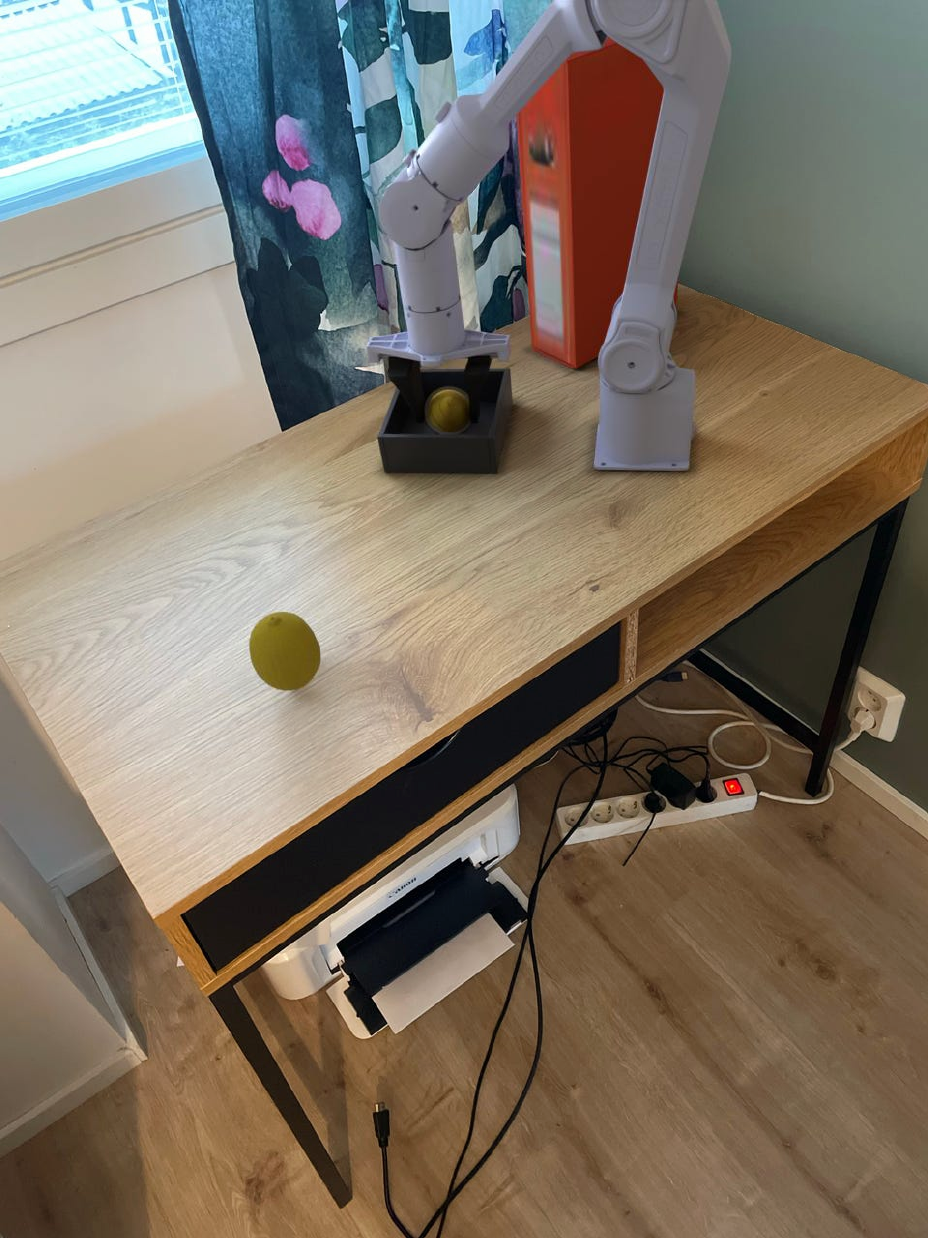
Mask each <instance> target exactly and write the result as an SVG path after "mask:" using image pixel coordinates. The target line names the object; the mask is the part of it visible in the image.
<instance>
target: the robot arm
mask: <svg viewBox="0 0 928 1238" xmlns="http://www.w3.org/2000/svg"><path fill="white" fill-rule="evenodd" d="M608 36H609V37H610V38H611V39H613V40H614V41H615V42H616V43H618V44H620V45H621V46H623V47H624V48H626V49H628V50H629V51H631V52H632V53H634V54H636V55H637V56H639V57H640V58H642V59H643V60H644V61H645V63H646V64H647V65H648V67H649V68H650V69H651V71H652V72H653V73H654V75H655V76H656V77H657V79H658V80H659V81H660V83H661V84H662V85H663V87H664V95H663V100H662V105H661V110H660V114H659V119H658V124H657V129H656V134H655V139H654V144H653V149H652V154H651V159H650V164H649V169H648V174H647V179H646V184H645V188H644V193H643V198H642V203H641V208H640V213H639V218H638V223H637V228H636V233H635V238H634V243H633V248H632V253H631V258H630V263H629V267H628V272H627V277H626V282H625V287H624V291H623V294H622V295H621V296H620V297H619V299H618V300H617V301H616V303H615V305H614V307H613V311H612V315H611V323H610V326H609V329H608V333H607V336H606V339H605V342H604V344H603V346H602V347H601V350H600V353H599V356H598V357H597V366H598V371H599V423H598V424H597V431H596V439H595V450H594V459H593V469H594V470H596V471H653V472H654V471H662V472H663V471H664V472H666V471H669V472H687V471H688V470H690V458H691V447H692V440H694V439H695V421H694V413H695V400H696V370H695V369H691V368H685V367H680V366H677V365H676V362H675V361H674V360H673V356H672V355H671V353H670V347H671V344H672V338H673V333H674V331H675V329H676V325H677V322H678V321H677V319H678V313H677V311H678V310H677V307H676V308H675V304H674V299H673V295H674V291H675V287H676V283H677V279H678V280H679V276H680V275H679V274H680V271H681V267H682V262H683V258H684V256H685V255H684V254H685V249H686V246H687V242H688V239H689V234H690V230H691V227H692V222H693V218H694V215H695V209H696V206H697V201H698V198H699V194H700V189H701V186H702V181H703V178H704V174H705V170H706V165H707V160H708V158H709V153H710V149H711V145H712V142H713V137H714V133H715V129H716V126H717V125H716V124H717V121H718V117H719V113H720V109H721V105H722V100H723V97H724V93H725V89H726V84H727V81H728V76H729V73H730V69H731V68H730V67H731V62H732V47H731V42H730V39H729V36H728V32H727V29H726V25H725V22H724V19H723V16H722V12H721V10H720V7H719V3H718V0H552V1H551V2H550V3H549V4H548V6H547V7H546V9H545V10H544V11H543V13H542V14H541V15H540V17H539V18H538V20H536V22H535V24H534V25H533V26H532V28H531V29H530V30H529V31H528V33H527V34H526V36H524V38H523V40H521V42H520V43H519V45H518V46H517V48H516V49H515V50H514V51H513V52H514V53H513V52H512V54H511V55H510V57H509V58H508V60H507V61H506V62H505V63H504V65H503V66H502V68H501V69H500V71H499V72H498V73H497V74H496V76H495V77H494V78H493V79H492V81H491V83H489V84H488V86H487V88H486V89H485V90H484V91H483V92H482V93H478V94H475V93H474V94H463V95H462V94H461V95H459V96H458V97H457V98H456V99H455V101H453V103H452V104H451V103H450V102H449V100H446V101H444V103H443V104H442V105H441V106H440V108H439V109H438V110H437V112H435V115H433V117H434V118H433V119H434V120H435V121H436V122H437V124H436V125H435V126H434V128H433V129H432V131H430V133H429V134H428V135H427V137H426V138H425V139H424V141H423V142H422V143H421V145H420V146H419V147H418V148H417V150H415V149H414V148H411V149H410V150H409V151H408V153H407V154H406V155H405V157H404V158H403V160H402V162H403V164H404V165H405V167H403V168H402V169H401V171H400V172H399V173H398V175H397V176H396V177H395V178H394V180H393V181H392V182H391V183H389V184H387V186H386V187H385V189H384V193H383V195H382V197H381V199H380V202H379V205H378V218H379V219H378V220H379V222H380V223H379V224H380V225H381V228H382V230H383V231H384V233H385V234H386V236H387V237H388V238H389V239H390V240H391V241H392V244H393V250H394V255H395V258H394V259H395V263H396V264H395V265H396V270H397V276H398V277H397V278H398V283H399V288H400V294H401V295H400V296H401V301H402V306H403V312H404V319H405V324H406V325H405V326H406V331H403V332H398V333H393V334H387V335H379V336H378V335H377V336H370V337H369V340H368V341H367V344H366V351H367V356H368V361H369V364H377V363H380V362H381V361H382V360H387V361H388V365H387V366H388V368H387V371H386V375H387V377H388V380H389V381H390V382H391V383H392V384H393V385H394V386H395V388H396V387H397V388H398V389H399V391H400V392H401V393H402V395H403V396H404V398H405V399H406V401H407V402H408V404H409V406H410V408H411V410H412V412H413V414H414V416H415V419H416V421H417V423H423V421H424V418H425V404H426V403H425V397H424V393H423V388H422V382H421V371H420V369H421V366H422V367H423V368H437V367H440V366H442V365H443V363H445V362H451V361H455V360H463V359H465V360H466V359H467V361H466V363H465V366H464V368H463V369H464V373H463V375H464V379H465V383H466V387H467V392H468V397H469V411H470V420H471V423H478V420H479V416H480V402H481V395H482V389H483V386H484V384H485V381H486V379H487V376H488V373H489V370H490V369H491V366H492V362H493V359H497V361H498V362H501V363H502V362H503V363H504V362H509V360H510V357H511V353H512V348H511V336H510V334H501V333H500V334H499V333H492V332H485V331H480V330H474V329H469V328H465V321H464V313H463V311H464V310H463V305H462V303H463V302H462V294H461V287H460V279H459V270H458V261H457V259H458V258H457V251H456V250H457V249H456V246H455V239H454V231H453V221H452V220H451V218H452V216H453V214H454V213H455V211H456V209H457V207H458V206H460V205H461V204H463V203H464V202H465V201H466V200H467V198H468V197H469V196H470V195H471V194H472V193H473V191H475V189H476V188H477V187H479V185H480V184H481V182H482V181H483V180H484V179H485V178H486V177H487V175H488V174H489V173H490V172H491V171H492V169H494V167H495V166H496V165H497V164H498V162H499V161H500V160H501V159H502V158H503V156H505V155H506V153H507V152H508V151H509V148H510V123H511V122H512V121H513V120H514V118H515V117H517V114H518V113H519V112H520V110H521V109H522V108H523V107H524V106H525V105H526V104H527V103H528V101H529V100H530V99H531V98H532V97H533V96H534V95H535V94H536V93H537V91H538V90H539V89H540V88H541V87H542V86H543V85H544V84H545V82H546V81H547V80H548V79H549V78H550V77H551V76H552V75H553V73H554V72H555V71H556V70H557V69H558V68H559V67H560V66H561V64H562V63H563V62H564V61H565V60H566V59H567V58H568V57H569V56H570V55H571V54H572V53H575V52H584V51H593V50H599V49H601V48H602V47H603V45H604V43H605V42H606V40H607V38H608Z"/></svg>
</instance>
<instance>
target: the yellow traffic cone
mask: <svg viewBox="0 0 928 1238" xmlns="http://www.w3.org/2000/svg"><path fill="white" fill-rule="evenodd" d="M425 419H426V422H427V424H428V426H429V427H430V429H431V430H432V431H433V432H435V433H436V434H462V433H464V432H465V431H466V430H467V429H468V428H469V426H470V425H471V420H470V411H469V397H468V395H467V393H466V392H464V391H463V390H461V389H459V388H457V387H453V386H445V387H441V388H439V389H437V390H435V391H434V392H433V393H431V395H430V396H429V397H428V399H427V401H426V404H425Z"/></svg>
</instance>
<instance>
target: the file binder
mask: <svg viewBox="0 0 928 1238" xmlns="http://www.w3.org/2000/svg"><path fill="white" fill-rule="evenodd" d="M514 52H515V51H512V54H513V53H514ZM663 95H664V87H663V85H662V84H661V83H660V81H659V80H658V79H657V77H656V76H655V75H654V73H653V72H652V71H651V69H650V68H649V67H648V65H647V64H646V63H645V61H644V60H643V59H642V58H640V57H639V56H637V55H636V54H634V53H632V52H631V51H629V50H628V49H626V48H624V47H623V46H621V45H620V44H618V43H616V42H615V41H614V40H613V39H611V38H610V37H609V36H608V38H607V40H606V42H605V43H604V45H603V47H602V48H601V49H599V50H593V51H584V52H575V53H572V54H571V55H570V56H569V57H568V58H567V59H566V60H565V61H564V62H563V63H562V64H561V66H560V67H559V68H558V69H557V70H556V71H555V72H554V73H553V75H552V76H551V77H550V78H549V79H548V80H547V81H546V82H545V84H544V85H543V86H542V87H541V88H540V89H539V90H538V91H537V93H536V94H535V95H534V96H533V97H532V98H531V99H530V100H529V101H528V103H527V104H526V105H525V106H524V107H523V108H522V109H521V110H520V112H519V113H518V114H517V115H516V125H517V127H516V128H517V142H518V143H517V144H518V156H519V157H518V158H519V172H520V189H521V203H522V220H523V221H522V222H523V234H524V235H523V236H524V249H525V264H526V280H527V294H528V295H527V298H528V311H529V326H530V343H531V348H532V350H533V351H535V352H536V353H538V354H541V355H543V356H545V357H547V358H549V359H551V360H553V361H556V362H558V363H560V364H562V365H564V366H566V367H568V368H570V369H572V370H574V369H575V370H576V369H578V368H580V367H582V366H584V365H586V364H588V363H589V362H591V361H592V360H594V359H596V358H598V357H599V353H600V350H601V347H602V346H603V344H604V342H605V339H606V336H607V333H608V329H609V326H610V323H611V315H612V311H613V307H614V305H615V303H616V301H617V300H618V299H619V297H620V296H621V295H622V294H623V291H624V287H625V282H626V277H627V272H628V267H629V263H630V258H631V253H632V248H633V243H634V238H635V233H636V228H637V223H638V218H639V213H640V208H641V203H642V198H643V193H644V188H645V184H646V179H647V174H648V169H649V164H650V159H651V154H652V149H653V144H654V139H655V134H656V129H657V124H658V119H659V114H660V110H661V105H662V100H663ZM678 290H679V278H678V279H677V283H676V287H675V291H674V295H673V299H674V304H675V308H676V309H677V306H678Z"/></svg>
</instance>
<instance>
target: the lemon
mask: <svg viewBox="0 0 928 1238" xmlns="http://www.w3.org/2000/svg"><path fill="white" fill-rule="evenodd" d="M248 647H249V648H248V649H249V656H250V661H251V665H252V666H253V668H254V670H255V672H256V674H257V676H259V678H260V679H261V680H262V681H263V682H264V683H265V684H266V685H268V686H269V687H272V688H273V689H275V690H278V691H279V690H280V691H287V692H288V691H295V690H299V689H301V688H304V687H305V686H307V685H308V684H310V683H311V681H313V679H314V678H315V677H316V675H317V673H318V671H319V668H320V666H321V646H320V643H319V640H318V638H317V636H316V634H315V632H314V630H313V629H312V627H311V626H310V625H309V624H308V622H307V621H305V619H304V618H302V617H301V616H299V615H297V614H295V613H291V612H288V611H277V612H273V613H269V614H267V615H265V616H263V617H262V618H261V619H259V621H258V622H257V623H256V624H255V625H254V627H253V629H252V631H251V632H250V638H249V643H248Z"/></svg>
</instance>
